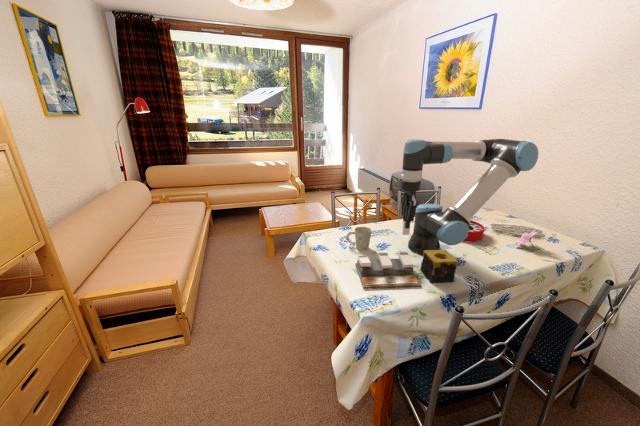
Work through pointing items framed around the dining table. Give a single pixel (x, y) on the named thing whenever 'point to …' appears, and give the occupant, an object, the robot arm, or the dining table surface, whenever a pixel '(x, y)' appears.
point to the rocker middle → (385, 260)
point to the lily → (526, 238)
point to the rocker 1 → (364, 261)
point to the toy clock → (475, 232)
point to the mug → (361, 237)
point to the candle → (438, 266)
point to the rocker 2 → (405, 259)
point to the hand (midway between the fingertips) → (405, 234)
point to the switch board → (386, 275)
